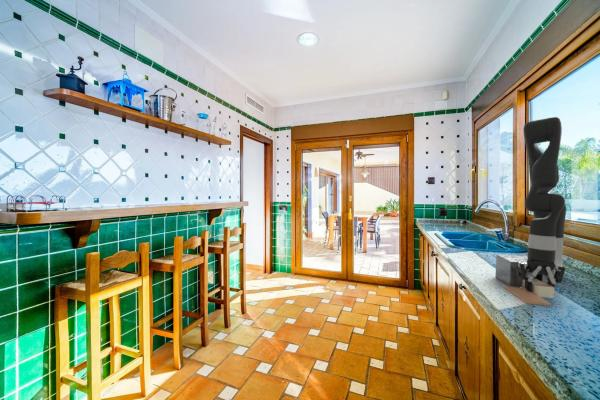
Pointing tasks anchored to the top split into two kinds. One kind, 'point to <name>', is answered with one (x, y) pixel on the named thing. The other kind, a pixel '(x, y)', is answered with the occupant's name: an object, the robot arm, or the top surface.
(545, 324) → the top surface
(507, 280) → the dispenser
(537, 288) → the cream box
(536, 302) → the tile
